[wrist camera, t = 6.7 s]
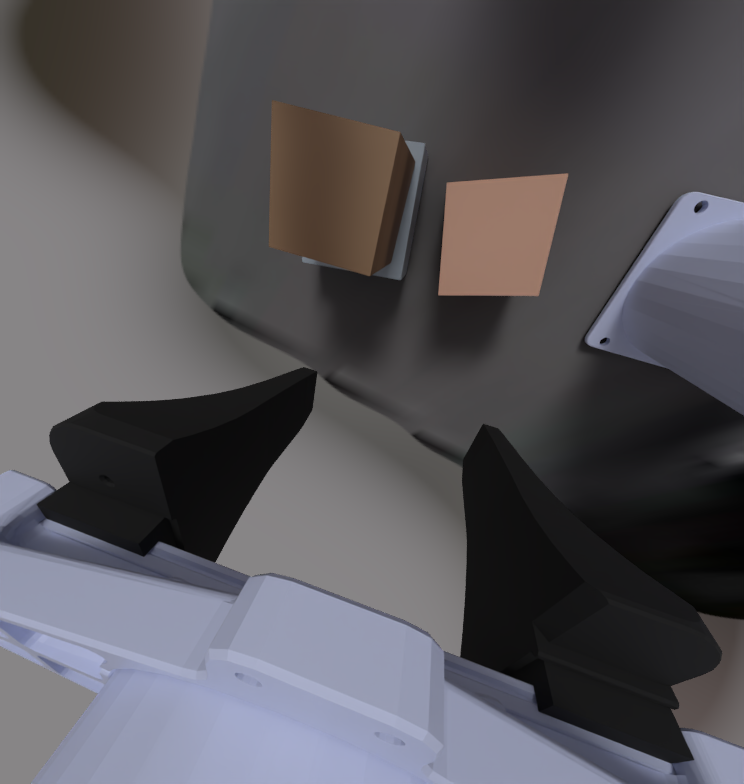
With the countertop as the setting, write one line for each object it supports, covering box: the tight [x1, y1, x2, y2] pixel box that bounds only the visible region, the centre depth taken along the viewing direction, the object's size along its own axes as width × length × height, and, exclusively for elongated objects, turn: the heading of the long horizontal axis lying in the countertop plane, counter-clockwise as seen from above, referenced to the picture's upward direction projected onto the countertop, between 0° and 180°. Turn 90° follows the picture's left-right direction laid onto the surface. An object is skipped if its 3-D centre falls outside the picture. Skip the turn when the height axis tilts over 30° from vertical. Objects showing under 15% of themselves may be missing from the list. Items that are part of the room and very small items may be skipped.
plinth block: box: [302, 141, 428, 280], centre depth 16 cm, size 6×6×3 cm
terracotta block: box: [438, 173, 569, 296], centre depth 14 cm, size 4×4×5 cm
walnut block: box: [269, 100, 415, 276], centre depth 13 cm, size 4×4×5 cm
